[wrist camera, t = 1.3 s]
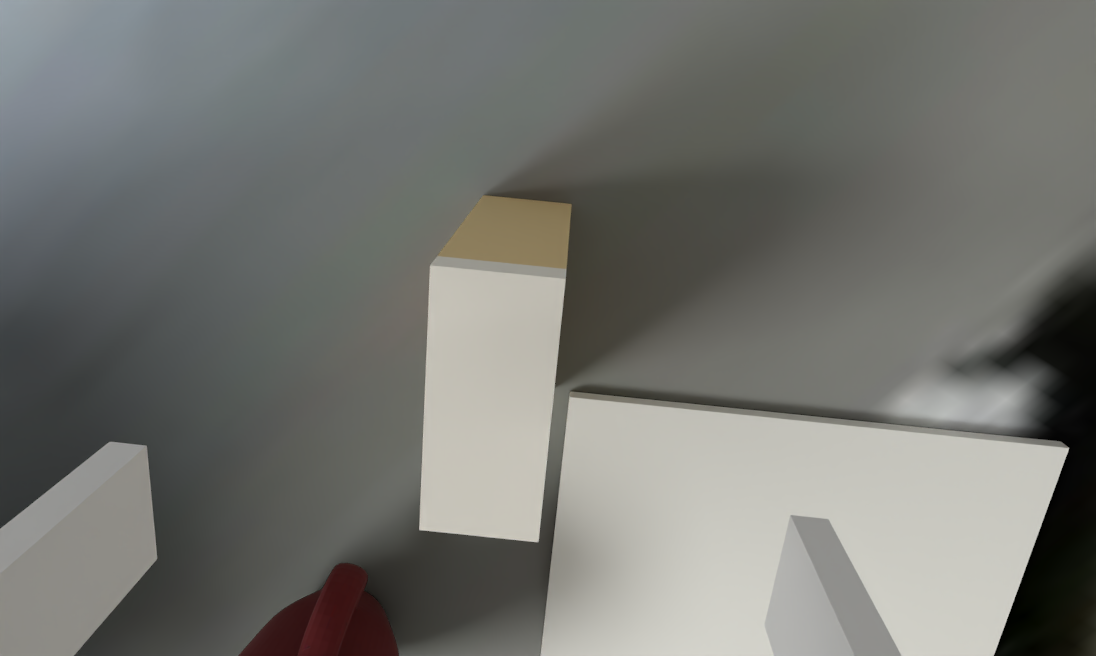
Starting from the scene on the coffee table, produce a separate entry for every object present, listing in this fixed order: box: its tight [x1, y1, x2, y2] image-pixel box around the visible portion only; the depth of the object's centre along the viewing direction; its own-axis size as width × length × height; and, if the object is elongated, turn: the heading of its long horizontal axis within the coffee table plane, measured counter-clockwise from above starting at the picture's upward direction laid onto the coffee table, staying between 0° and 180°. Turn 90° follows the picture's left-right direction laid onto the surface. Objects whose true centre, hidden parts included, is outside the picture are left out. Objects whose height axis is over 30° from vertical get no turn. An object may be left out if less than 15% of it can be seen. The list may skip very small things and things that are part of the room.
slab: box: [419, 195, 572, 542], centre depth 26 cm, size 4×8×11 cm, turn 175°
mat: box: [540, 391, 1069, 656], centre depth 35 cm, size 21×16×1 cm
